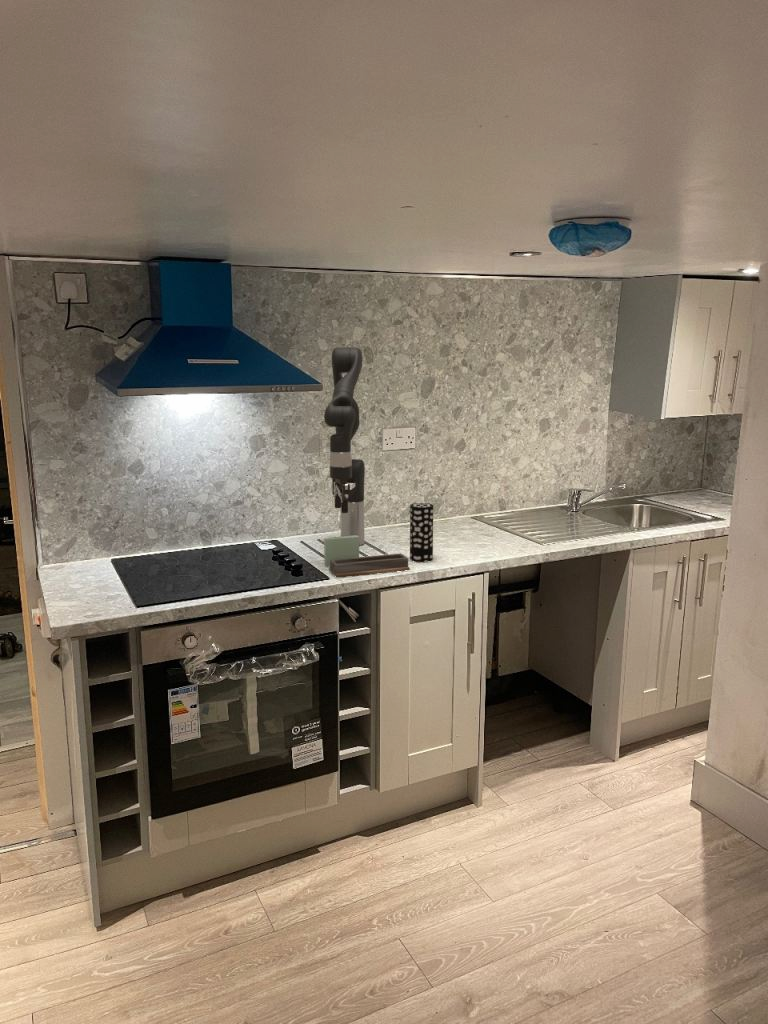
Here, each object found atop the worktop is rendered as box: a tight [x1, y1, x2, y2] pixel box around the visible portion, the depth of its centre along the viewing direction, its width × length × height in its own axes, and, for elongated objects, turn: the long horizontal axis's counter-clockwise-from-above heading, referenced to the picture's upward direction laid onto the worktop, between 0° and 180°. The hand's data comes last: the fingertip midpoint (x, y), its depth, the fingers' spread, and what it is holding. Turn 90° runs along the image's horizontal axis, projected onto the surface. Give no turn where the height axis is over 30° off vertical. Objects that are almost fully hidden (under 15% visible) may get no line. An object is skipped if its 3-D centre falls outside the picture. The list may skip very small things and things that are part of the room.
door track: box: [328, 552, 411, 578], centre depth 269 cm, size 10×26×4 cm, turn 109°
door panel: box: [323, 535, 360, 568], centre depth 275 cm, size 2×12×10 cm, turn 109°
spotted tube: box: [409, 502, 434, 563], centre depth 280 cm, size 8×8×20 cm
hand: (341, 510), depth 272 cm, fingers open, 8 cm apart
